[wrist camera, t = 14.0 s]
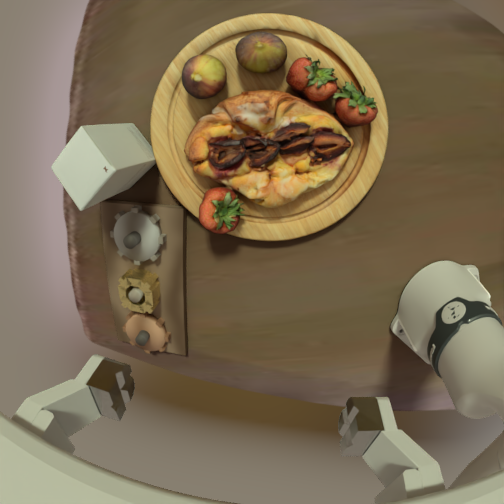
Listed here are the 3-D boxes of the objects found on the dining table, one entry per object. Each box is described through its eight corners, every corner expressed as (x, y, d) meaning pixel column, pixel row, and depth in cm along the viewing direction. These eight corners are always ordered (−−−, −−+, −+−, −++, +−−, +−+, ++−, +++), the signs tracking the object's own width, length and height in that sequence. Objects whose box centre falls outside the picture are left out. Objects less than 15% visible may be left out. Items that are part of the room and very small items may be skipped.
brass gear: (159, 272, 45) (151, 282, 42) (161, 304, 47) (154, 315, 44) (125, 266, 45) (116, 275, 42) (129, 298, 48) (121, 308, 45)
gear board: (186, 206, 42) (174, 216, 37) (187, 350, 53) (180, 368, 48) (105, 199, 43) (87, 208, 38) (121, 335, 53) (110, 351, 49)
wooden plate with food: (269, 278, 45) (267, 308, 38) (115, 137, 39) (84, 140, 31) (424, 135, 35) (453, 137, 27) (264, -18, 28) (260, -46, 21)
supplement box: (133, 121, 38) (82, 122, 26) (162, 159, 40) (117, 171, 28) (102, 154, 40) (48, 167, 28) (128, 190, 42) (80, 213, 30)
